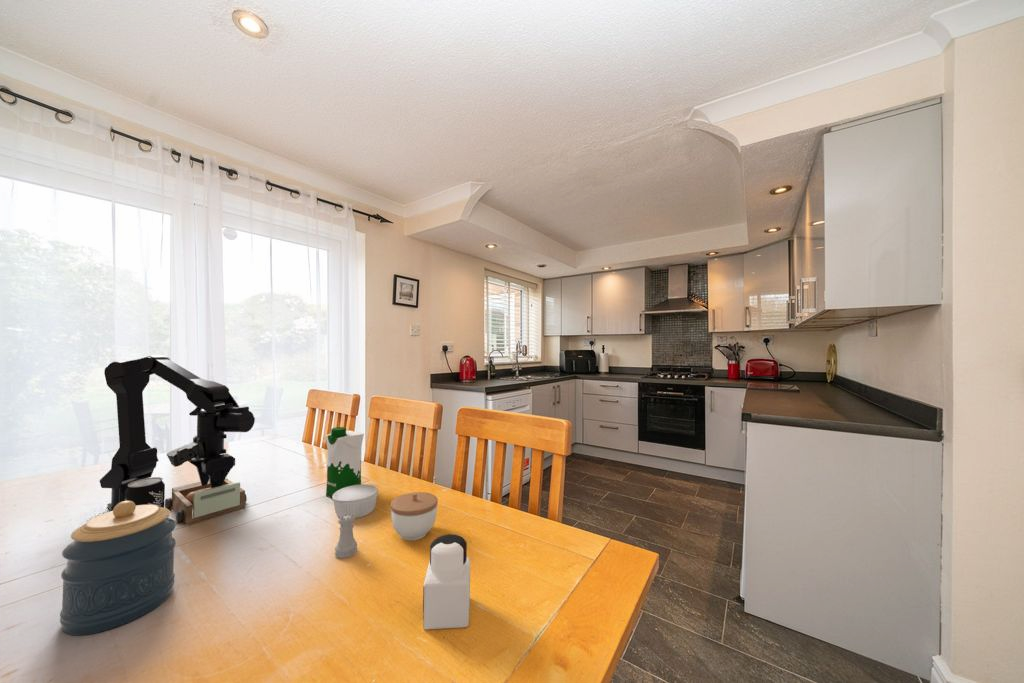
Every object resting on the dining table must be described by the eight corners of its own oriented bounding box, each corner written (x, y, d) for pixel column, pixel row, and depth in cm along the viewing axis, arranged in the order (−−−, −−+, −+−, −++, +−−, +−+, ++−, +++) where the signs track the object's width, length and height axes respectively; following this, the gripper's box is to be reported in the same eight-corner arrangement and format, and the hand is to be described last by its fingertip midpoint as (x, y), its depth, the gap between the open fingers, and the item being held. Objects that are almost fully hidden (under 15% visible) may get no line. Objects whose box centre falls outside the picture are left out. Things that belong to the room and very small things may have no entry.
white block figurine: (429, 599, 63) (430, 530, 63) (469, 596, 63) (470, 528, 64) (422, 630, 56) (423, 553, 56) (468, 628, 56) (469, 551, 57)
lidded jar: (446, 533, 85) (446, 493, 85) (405, 551, 77) (406, 508, 77) (421, 518, 92) (421, 482, 93) (381, 533, 85) (382, 494, 85)
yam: (184, 504, 97) (184, 492, 97) (220, 494, 104) (220, 483, 104) (187, 507, 95) (187, 495, 95) (224, 497, 102) (224, 485, 102)
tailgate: (193, 516, 89) (193, 492, 90) (238, 503, 97) (238, 481, 97) (194, 518, 89) (195, 493, 89) (240, 505, 96) (240, 482, 96)
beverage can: (137, 541, 80) (139, 488, 80) (115, 538, 81) (117, 485, 82) (171, 527, 87) (172, 477, 87) (150, 524, 88) (151, 475, 88)
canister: (67, 652, 51) (71, 528, 52) (52, 615, 58) (56, 506, 58) (185, 598, 62) (188, 496, 63) (161, 573, 69) (163, 481, 70)
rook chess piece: (362, 549, 78) (362, 512, 78) (346, 561, 74) (347, 522, 74) (345, 545, 79) (346, 509, 79) (329, 557, 75) (330, 518, 75)
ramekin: (322, 516, 93) (322, 496, 93) (355, 499, 103) (356, 481, 104) (354, 524, 89) (355, 503, 89) (386, 506, 99) (386, 487, 99)
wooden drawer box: (163, 506, 98) (164, 489, 98) (227, 490, 109) (227, 475, 109) (180, 526, 87) (181, 507, 87) (249, 505, 99) (249, 489, 99)
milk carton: (321, 496, 106) (322, 428, 106) (349, 486, 113) (350, 422, 114) (338, 503, 101) (339, 432, 101) (366, 492, 108) (367, 426, 109)
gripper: (162, 432, 97) (160, 490, 96) (180, 443, 86) (178, 508, 85) (214, 425, 106) (213, 478, 105) (236, 434, 95) (235, 493, 94)
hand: (209, 489), depth 97 cm, fingers open, 9 cm apart
